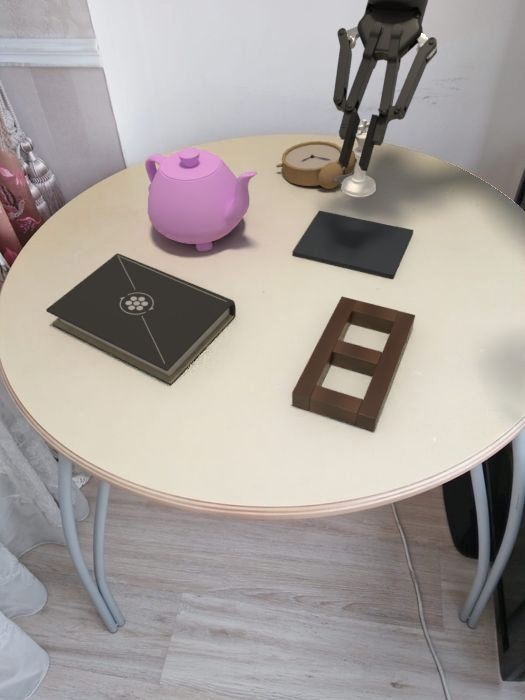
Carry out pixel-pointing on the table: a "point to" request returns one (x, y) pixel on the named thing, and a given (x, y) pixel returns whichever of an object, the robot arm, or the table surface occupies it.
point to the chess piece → (359, 170)
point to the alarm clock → (315, 164)
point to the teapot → (195, 197)
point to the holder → (354, 363)
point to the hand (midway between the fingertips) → (353, 165)
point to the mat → (354, 244)
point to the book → (143, 316)
